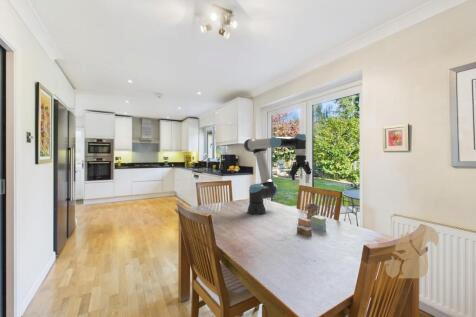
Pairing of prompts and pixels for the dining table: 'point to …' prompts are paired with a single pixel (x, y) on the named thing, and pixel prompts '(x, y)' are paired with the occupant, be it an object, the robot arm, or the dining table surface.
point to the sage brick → (318, 220)
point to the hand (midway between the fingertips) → (300, 183)
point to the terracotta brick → (304, 221)
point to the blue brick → (318, 227)
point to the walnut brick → (304, 231)
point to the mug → (311, 210)
